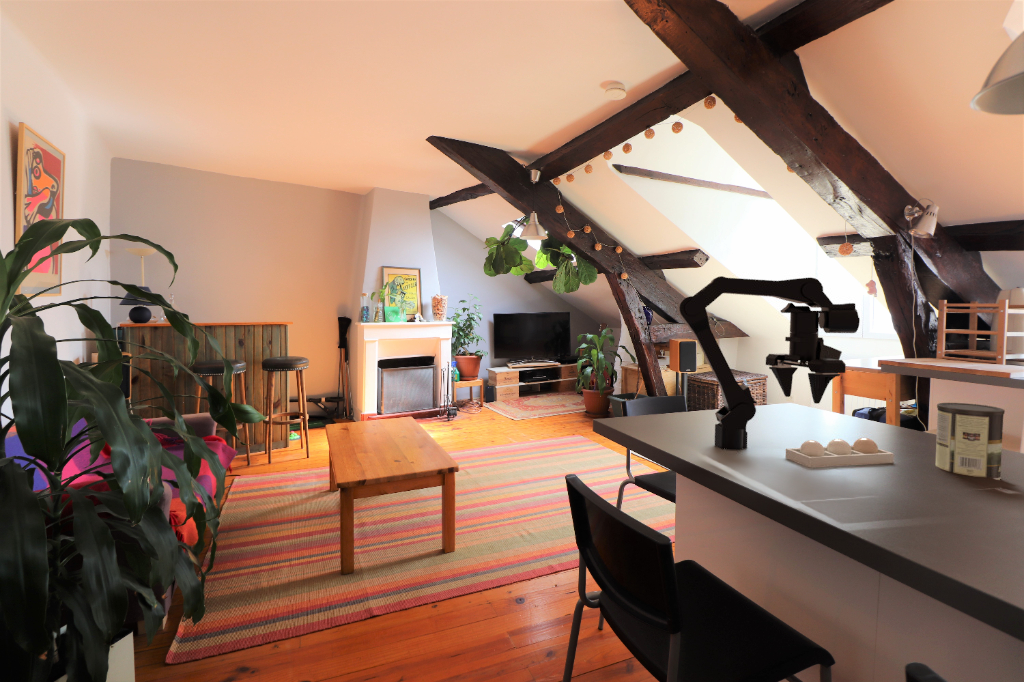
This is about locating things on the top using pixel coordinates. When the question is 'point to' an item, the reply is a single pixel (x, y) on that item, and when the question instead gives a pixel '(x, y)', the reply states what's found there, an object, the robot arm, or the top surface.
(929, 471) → the top surface
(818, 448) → the cream egg
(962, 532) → the top surface
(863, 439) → the brown egg
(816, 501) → the top surface
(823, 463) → the carton
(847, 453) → the cream egg
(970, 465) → the coffee can
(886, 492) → the top surface
